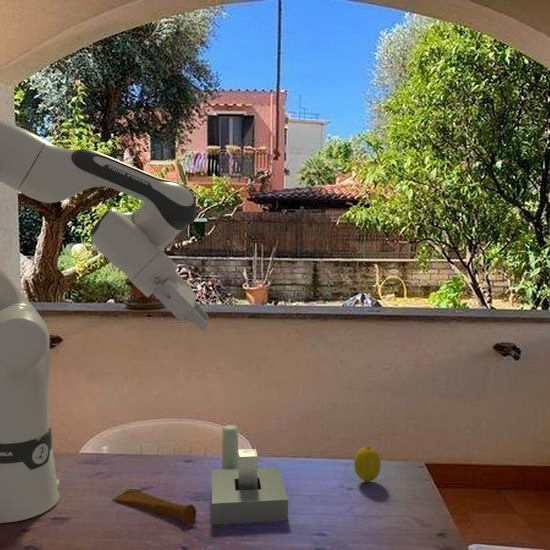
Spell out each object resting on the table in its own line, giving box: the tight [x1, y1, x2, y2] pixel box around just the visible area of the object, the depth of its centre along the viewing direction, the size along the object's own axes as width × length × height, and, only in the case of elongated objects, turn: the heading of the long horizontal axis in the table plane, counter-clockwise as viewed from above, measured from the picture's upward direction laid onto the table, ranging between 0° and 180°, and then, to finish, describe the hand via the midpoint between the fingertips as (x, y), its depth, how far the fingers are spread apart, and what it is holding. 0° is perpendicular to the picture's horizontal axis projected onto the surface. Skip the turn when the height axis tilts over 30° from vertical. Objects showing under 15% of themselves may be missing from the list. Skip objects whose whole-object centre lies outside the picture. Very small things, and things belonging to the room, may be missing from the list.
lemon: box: [354, 445, 382, 483], centre depth 115 cm, size 6×6×8 cm
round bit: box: [221, 424, 239, 470], centre depth 120 cm, size 4×4×10 cm
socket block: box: [211, 466, 289, 526], centre depth 106 cm, size 14×14×4 cm
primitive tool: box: [111, 488, 197, 526], centre depth 104 cm, size 19×6×4 cm, turn 60°
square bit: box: [238, 448, 258, 490], centre depth 106 cm, size 4×4×10 cm
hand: (206, 323), depth 111 cm, fingers open, 8 cm apart
